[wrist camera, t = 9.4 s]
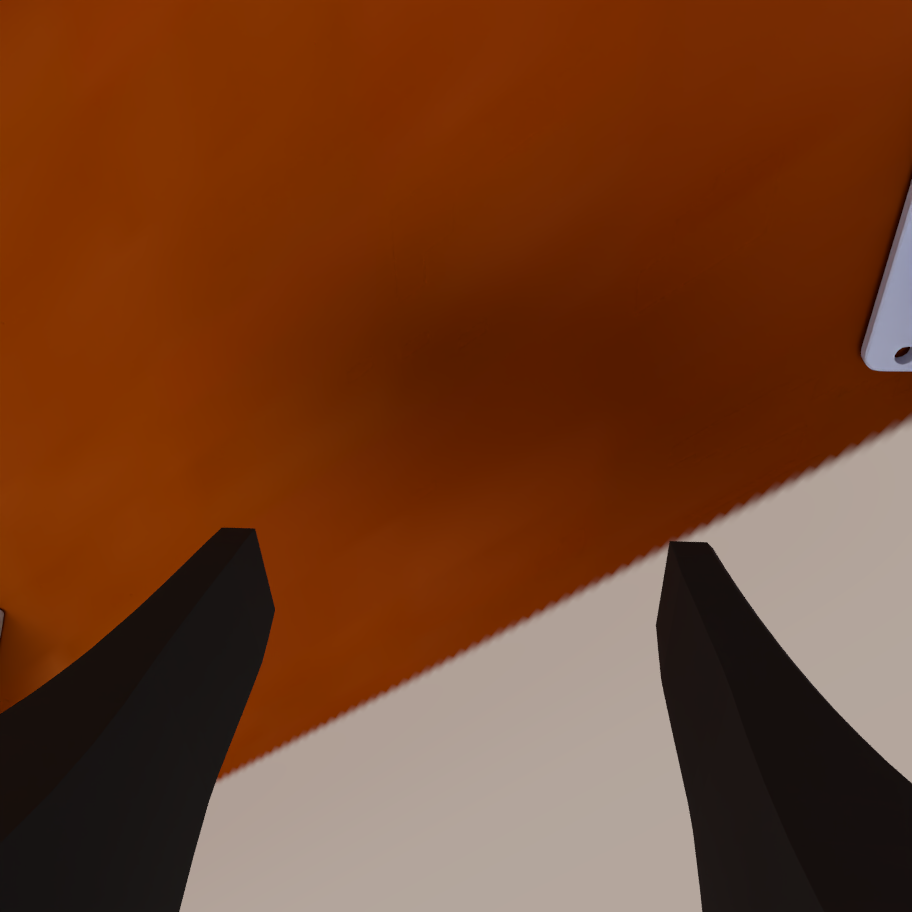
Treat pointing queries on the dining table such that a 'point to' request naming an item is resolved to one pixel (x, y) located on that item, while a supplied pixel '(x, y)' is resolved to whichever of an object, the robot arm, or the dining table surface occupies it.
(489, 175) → the dining table surface
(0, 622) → the coffee box
